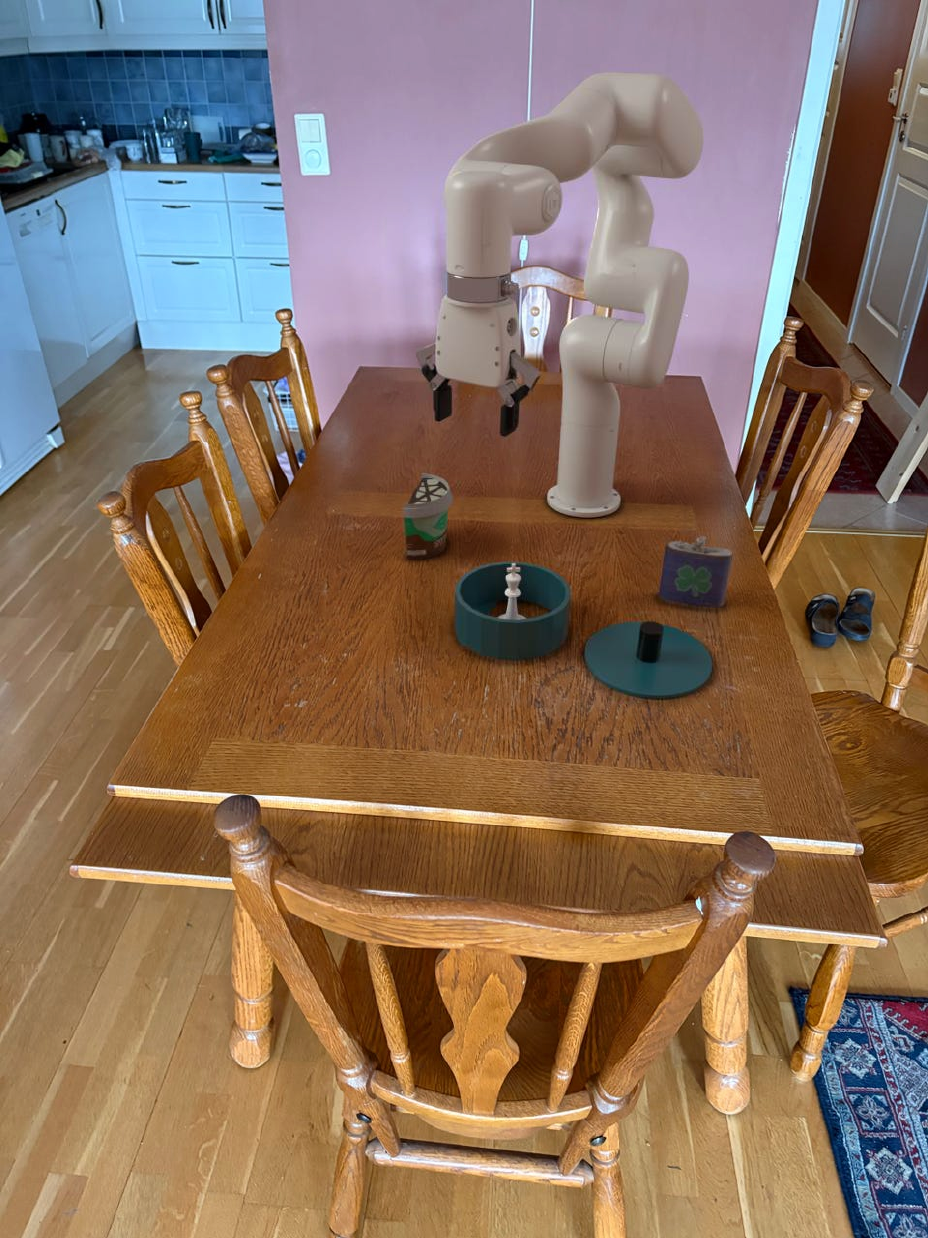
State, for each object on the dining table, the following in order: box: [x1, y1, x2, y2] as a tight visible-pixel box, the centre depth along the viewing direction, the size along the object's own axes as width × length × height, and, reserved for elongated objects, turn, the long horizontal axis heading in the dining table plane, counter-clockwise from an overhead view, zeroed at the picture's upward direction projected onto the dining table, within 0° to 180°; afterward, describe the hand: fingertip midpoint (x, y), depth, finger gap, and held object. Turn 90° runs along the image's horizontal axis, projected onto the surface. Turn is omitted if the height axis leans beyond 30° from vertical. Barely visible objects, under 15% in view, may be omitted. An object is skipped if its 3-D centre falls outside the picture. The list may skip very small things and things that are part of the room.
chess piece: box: [496, 563, 527, 620], centre depth 123 cm, size 5×5×10 cm
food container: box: [402, 472, 454, 561], centre depth 143 cm, size 12×6×10 cm, turn 168°
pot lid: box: [583, 620, 713, 700], centre depth 118 cm, size 16×16×6 cm
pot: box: [454, 560, 572, 661], centre depth 124 cm, size 15×15×6 cm
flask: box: [658, 535, 733, 608], centre depth 129 cm, size 9×3×11 cm, turn 74°
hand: (475, 425), depth 118 cm, fingers open, 9 cm apart
